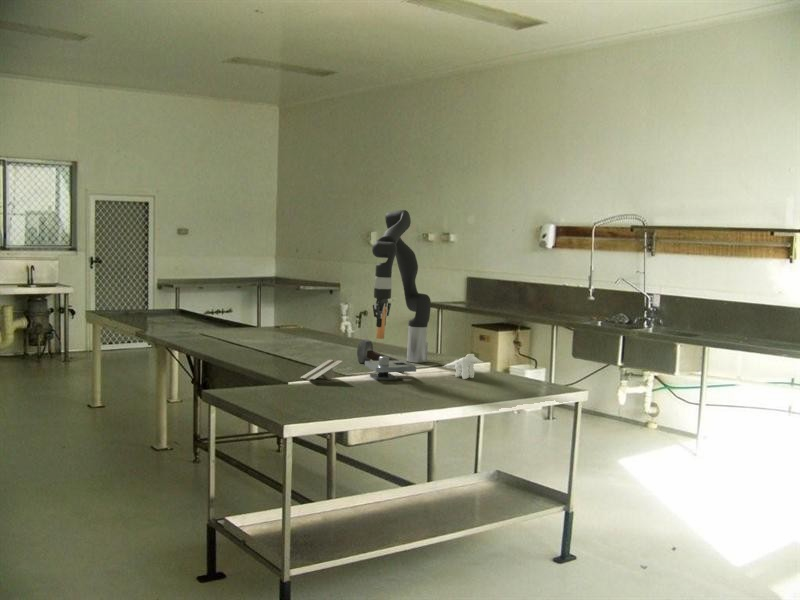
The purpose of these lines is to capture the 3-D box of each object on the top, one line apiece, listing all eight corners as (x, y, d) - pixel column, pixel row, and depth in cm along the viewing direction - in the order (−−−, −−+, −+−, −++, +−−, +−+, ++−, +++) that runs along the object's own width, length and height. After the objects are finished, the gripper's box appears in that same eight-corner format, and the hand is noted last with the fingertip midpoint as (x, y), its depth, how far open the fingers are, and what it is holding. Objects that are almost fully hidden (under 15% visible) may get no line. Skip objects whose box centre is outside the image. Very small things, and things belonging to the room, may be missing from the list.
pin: (378, 337, 373) (379, 305, 371) (386, 338, 371) (388, 306, 369) (373, 338, 369) (375, 306, 367) (382, 339, 367) (384, 307, 366)
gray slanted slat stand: (327, 394, 344) (352, 369, 349) (314, 379, 341) (338, 353, 347) (312, 392, 358) (336, 368, 364) (299, 377, 356) (323, 353, 361)
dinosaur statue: (477, 380, 363) (477, 355, 363) (437, 377, 380) (436, 352, 380) (487, 379, 368) (487, 354, 368) (447, 375, 385) (446, 351, 385)
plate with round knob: (375, 381, 354) (376, 360, 353) (364, 374, 369) (365, 354, 368) (415, 380, 361) (416, 360, 360) (402, 373, 376) (403, 353, 375)
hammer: (404, 380, 381) (363, 360, 402) (408, 356, 378) (366, 338, 400) (396, 381, 377) (355, 361, 399) (400, 357, 375) (358, 338, 397)
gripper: (382, 285, 376) (380, 324, 377) (367, 287, 363) (365, 327, 364) (397, 287, 372) (395, 325, 374) (383, 288, 360) (381, 328, 361)
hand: (380, 326), depth 369 cm, fingers closed on pin, 3 cm apart
